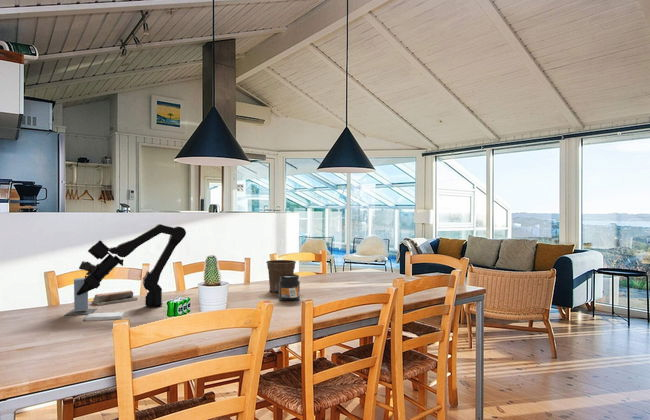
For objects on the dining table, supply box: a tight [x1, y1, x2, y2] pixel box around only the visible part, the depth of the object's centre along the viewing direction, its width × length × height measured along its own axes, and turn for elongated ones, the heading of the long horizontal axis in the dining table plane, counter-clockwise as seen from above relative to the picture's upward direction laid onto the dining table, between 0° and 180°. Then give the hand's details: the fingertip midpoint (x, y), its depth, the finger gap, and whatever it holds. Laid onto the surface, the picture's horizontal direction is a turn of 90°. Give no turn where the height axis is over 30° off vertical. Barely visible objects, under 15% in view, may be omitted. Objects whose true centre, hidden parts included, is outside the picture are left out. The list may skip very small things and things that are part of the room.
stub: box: [73, 277, 89, 311], centre depth 192 cm, size 5×5×13 cm
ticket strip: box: [83, 311, 126, 322], centre depth 183 cm, size 14×7×1 cm, turn 103°
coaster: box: [63, 308, 98, 317], centre depth 192 cm, size 10×10×1 cm
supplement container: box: [278, 273, 301, 302], centre depth 221 cm, size 10×10×12 cm
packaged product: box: [91, 290, 139, 306], centre depth 216 cm, size 18×5×10 cm
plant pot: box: [265, 259, 297, 293], centre depth 244 cm, size 16×16×16 cm
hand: (77, 293), depth 192 cm, fingers closed on stub, 5 cm apart
